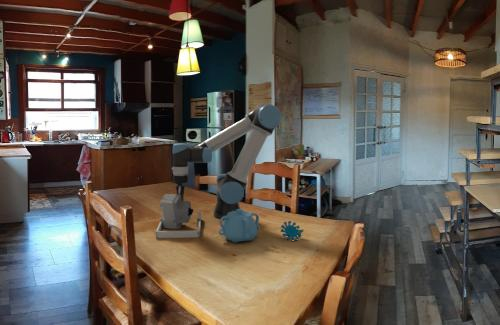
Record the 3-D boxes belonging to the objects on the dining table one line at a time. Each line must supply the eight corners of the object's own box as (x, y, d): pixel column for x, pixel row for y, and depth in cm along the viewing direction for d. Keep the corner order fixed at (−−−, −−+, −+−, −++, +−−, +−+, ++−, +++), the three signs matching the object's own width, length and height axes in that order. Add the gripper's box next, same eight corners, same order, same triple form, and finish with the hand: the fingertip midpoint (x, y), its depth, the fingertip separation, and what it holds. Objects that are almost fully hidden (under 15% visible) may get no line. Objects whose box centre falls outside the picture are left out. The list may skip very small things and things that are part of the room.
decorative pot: (214, 241, 178) (214, 211, 176) (233, 231, 192) (233, 203, 190) (246, 247, 170) (246, 216, 169) (263, 236, 184) (263, 207, 183)
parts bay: (200, 226, 199) (200, 220, 199) (199, 237, 183) (199, 230, 182) (160, 227, 197) (160, 221, 197) (155, 238, 181) (155, 231, 180)
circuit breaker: (192, 229, 194) (188, 203, 187) (163, 228, 196) (159, 202, 189) (196, 220, 201) (192, 194, 194) (168, 218, 203) (164, 193, 196)
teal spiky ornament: (283, 239, 176) (280, 219, 182) (278, 245, 180) (275, 225, 186) (306, 240, 179) (302, 221, 185) (301, 246, 183) (297, 227, 190)
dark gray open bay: (201, 219, 212) (201, 212, 212) (200, 226, 199) (200, 218, 199) (163, 220, 210) (163, 212, 210) (160, 227, 197) (160, 219, 197)
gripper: (174, 172, 206) (174, 217, 209) (171, 176, 193) (171, 224, 196) (188, 172, 207) (188, 217, 210) (187, 176, 194) (187, 224, 197)
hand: (180, 220), depth 203 cm, fingers closed
